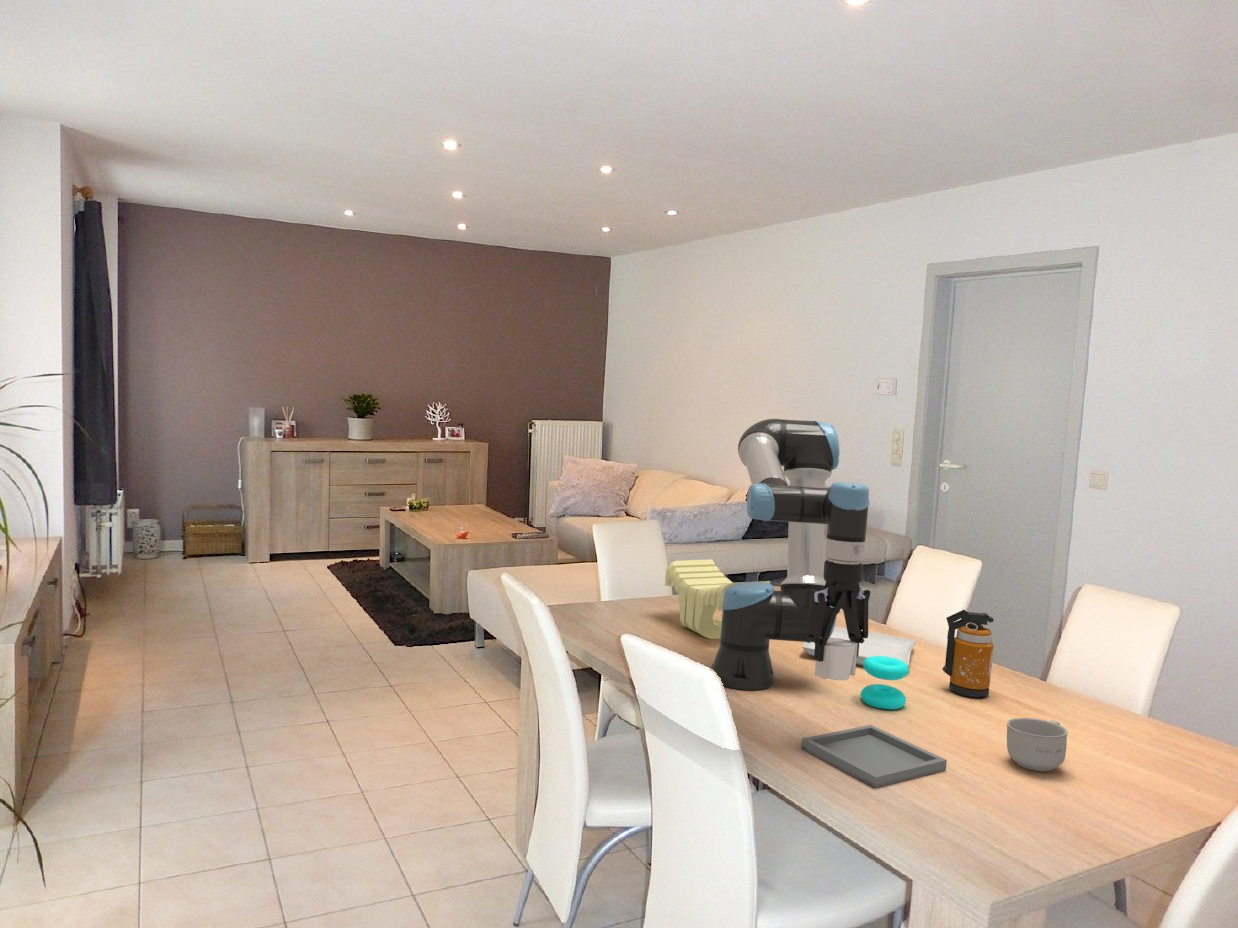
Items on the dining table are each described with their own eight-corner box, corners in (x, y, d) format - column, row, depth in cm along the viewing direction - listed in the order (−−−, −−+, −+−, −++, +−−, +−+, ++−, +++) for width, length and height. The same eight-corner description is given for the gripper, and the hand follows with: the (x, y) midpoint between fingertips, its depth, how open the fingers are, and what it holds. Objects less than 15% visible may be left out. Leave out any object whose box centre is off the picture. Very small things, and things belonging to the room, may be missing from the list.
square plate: (800, 659, 238) (801, 645, 238) (817, 635, 263) (818, 622, 263) (907, 678, 228) (908, 663, 228) (914, 651, 253) (916, 637, 253)
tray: (801, 748, 176) (802, 738, 176) (869, 734, 186) (870, 724, 186) (874, 788, 160) (876, 777, 160) (945, 770, 170) (946, 760, 170)
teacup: (1038, 780, 168) (1043, 739, 168) (990, 757, 178) (994, 718, 177) (1086, 770, 175) (1091, 730, 174) (1038, 748, 184) (1042, 710, 184)
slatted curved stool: (662, 619, 269) (666, 560, 267) (708, 616, 276) (712, 559, 275) (716, 648, 242) (721, 583, 241) (765, 644, 249) (770, 580, 248)
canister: (992, 701, 213) (1000, 618, 211) (942, 695, 215) (950, 612, 213) (984, 689, 221) (992, 609, 220) (937, 683, 224) (945, 604, 222)
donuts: (880, 668, 199) (855, 654, 208) (876, 712, 200) (851, 697, 209) (918, 666, 202) (892, 653, 212) (914, 710, 203) (888, 695, 212)
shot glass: (854, 674, 182) (856, 640, 181) (850, 683, 175) (853, 648, 175) (819, 669, 184) (822, 635, 184) (814, 677, 177) (817, 642, 177)
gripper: (819, 565, 170) (810, 685, 171) (894, 562, 180) (884, 675, 181) (793, 558, 176) (784, 674, 178) (866, 556, 186) (857, 665, 188)
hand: (834, 674), depth 179 cm, fingers closed on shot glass, 7 cm apart
